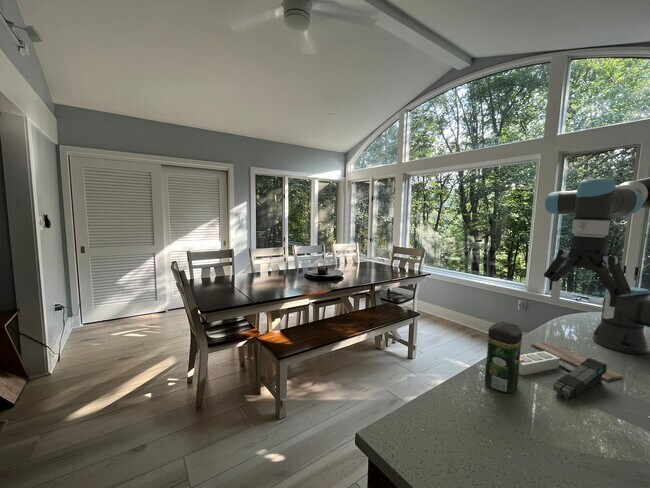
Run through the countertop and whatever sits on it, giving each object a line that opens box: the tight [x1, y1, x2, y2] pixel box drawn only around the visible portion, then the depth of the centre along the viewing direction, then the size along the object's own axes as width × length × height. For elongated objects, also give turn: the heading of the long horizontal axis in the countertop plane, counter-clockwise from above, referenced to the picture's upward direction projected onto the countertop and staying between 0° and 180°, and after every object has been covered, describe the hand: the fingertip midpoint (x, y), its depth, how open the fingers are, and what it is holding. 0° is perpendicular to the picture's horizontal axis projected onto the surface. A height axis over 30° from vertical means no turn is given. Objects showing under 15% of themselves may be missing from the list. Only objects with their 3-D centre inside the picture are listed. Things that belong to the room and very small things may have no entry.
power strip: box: [519, 350, 574, 376], centre depth 92 cm, size 18×12×4 cm, turn 107°
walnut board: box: [531, 341, 623, 382], centre depth 101 cm, size 7×24×1 cm, turn 17°
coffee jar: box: [484, 321, 523, 394], centre depth 85 cm, size 10×8×19 cm
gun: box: [553, 357, 608, 401], centre depth 84 cm, size 4×20×10 cm, turn 115°
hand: (579, 309), depth 83 cm, fingers open, 13 cm apart
